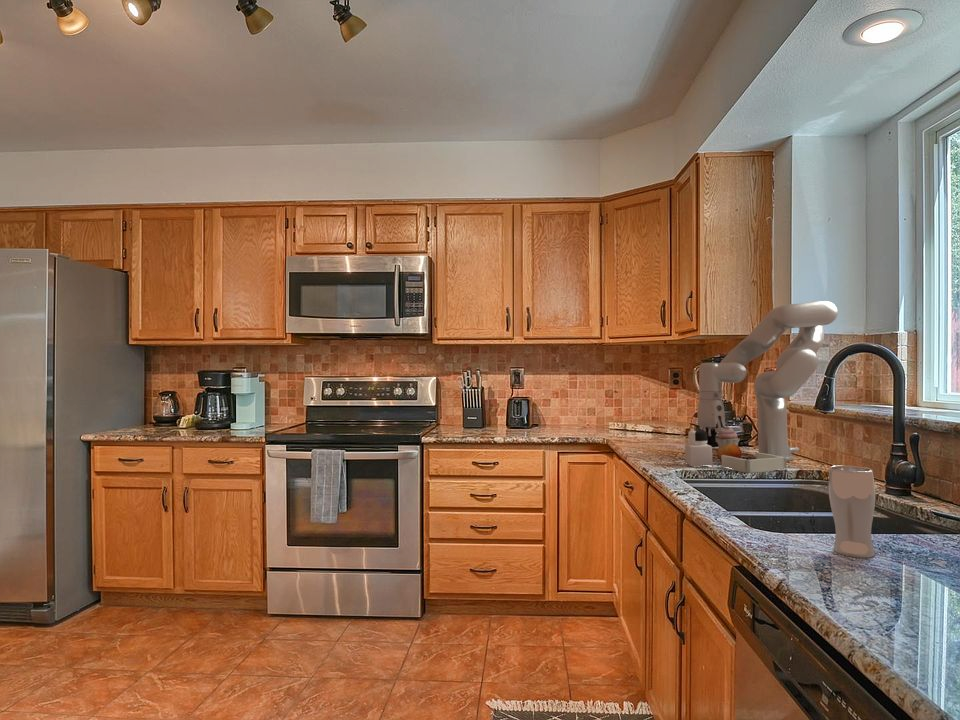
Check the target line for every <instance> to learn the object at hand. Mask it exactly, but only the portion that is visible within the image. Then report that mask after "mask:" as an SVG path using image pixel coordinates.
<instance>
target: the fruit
mask: <svg viewBox="0 0 960 720" xmlns="http://www.w3.org/2000/svg"><path fill="white" fill-rule="evenodd" d="M742 454H743V453H742V450H741V448H740V447H739V445H738V446H737V445H736V444H730V443H729V444H726V445H724V446H722V447H720V448H719V447H718V449H717V451H716V456H717V458H718V460H719V461H720V462H721V463H722V460H721V455H726V456H731V457H736V458H741V459H742Z"/></svg>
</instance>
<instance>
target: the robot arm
mask: <svg viewBox="0 0 960 720" xmlns="http://www.w3.org/2000/svg"><path fill="white" fill-rule="evenodd" d="M838 312H839V311H838V308H837V306H836V305H835V303H833V302H831V301H829V300H818V301H810V302H808V301H807V302H801V303H792V304H791V303H790V304H784V305H781V306H776V307H774V308H772V309H770V311H769V312H768V313H766V315H765V316H764V317H763V318H762V320H760V322H759V323H758V324H757V325H756V326H755V327H754V328H753V330H752V331H750V333H749V334H748V335H747V336H746V337H745V338H743V339H742V340H741V341H740V342H739V343H738V344H737V345H736V346H734V347H733V348H732V349H731V350H730V351H729V352H728V353H726V355H725V356H724V357H723V358H722V360H721V361H720V362H719V363H718V362H702V363H700V364H699V369H698V370H699V371H698V375H699V376H698V377H699V378H698V379H699V380H698V381H699V383H698V385H699V387H698V391H699V394H698V395H699V396H698V397H699V398H698V405H697V415H696V416H697V417H696V418H697V419H696V420H697V424H698V426H699V429H700V430H702V431H705V432H707V443H706V444H708V445H710V446H712V448H716V439H715V438H716V437H717V435H718V433H719V432H721V431H722V429H723V428H724V427H726V415H725V414H726V413H725V406H724V401H723V400H722V383H729V384H737V383H740V382H743V381H744V380H745V379H746V377H747V375H748V372H747V368H746V367H745V366H746V365H747V364H748V363H750V362H751V361H752V360H754V359H755V358H757V357H760V356H762V355H763V354H765V353H766V352H768V351H769V350H770V349H771V348H772V347H773V346H774V344H775V343H776V342H777V341H778V340H779V339H780V338H781V337H782V336H783V335H784V333H785V332H786V331H787V330H789V329H797V328H798V332H797V335H796V336H795V337H794V339H793V340H792V341H791V342H790V343H789V344H788V345H787V347H786V348H785V349H784V350H783V351H782V352H781V353H780V354H779V356H778V357H777V359H776V362H775V364H776V368H777V370H767V371H763V372H762V373H759V374H758V376H756V378H755V380H754V384H753V390H754V395H755V399H756V409H757V410H756V411H757V435H758V436H757V439H758V440H757V441H758V453H764V454H770V455H775V456H781V457H786V462H789V461H793V460H794V456H793V455H792V454H793V453H799V452H800V448H799V447H798V446H793V447H791V445H789V437H788V435H789V433H788V407H787V403H786V399H788V398H790V397H792V396H793V395H795V394H796V393H797V392H798V391H799V390H800V388H801V387H802V386H803V385H804V384H805V383H806V382H807V381H808V379H810V377H811V376H812V375H813V374H814V373H815V372H816V370H817V368H818V364H819V358H818V355H817V354H816V353H817V352H818V351H819V350H820V348H821V347H822V346H823V343H824V342H825V341H824V340H825V329H824V326H827V325H830V324H832V323H833V322H834V321H835V320H836V319H837V317H838ZM753 458H754V459H756V453H755V454H754V455H753Z"/></svg>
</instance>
